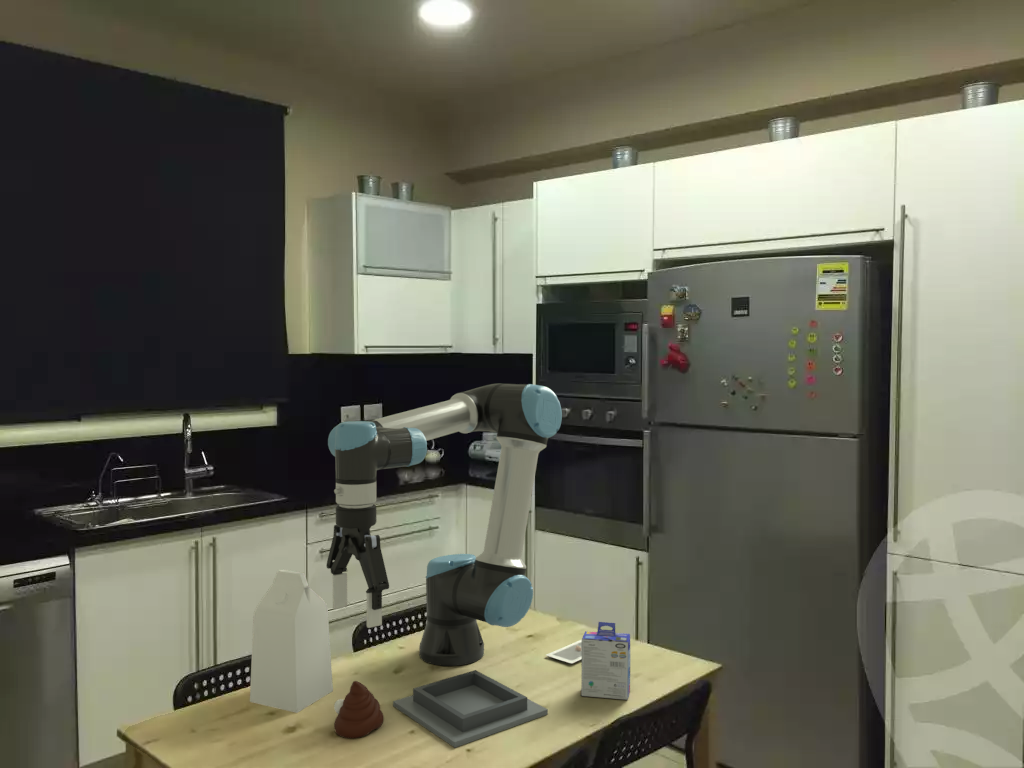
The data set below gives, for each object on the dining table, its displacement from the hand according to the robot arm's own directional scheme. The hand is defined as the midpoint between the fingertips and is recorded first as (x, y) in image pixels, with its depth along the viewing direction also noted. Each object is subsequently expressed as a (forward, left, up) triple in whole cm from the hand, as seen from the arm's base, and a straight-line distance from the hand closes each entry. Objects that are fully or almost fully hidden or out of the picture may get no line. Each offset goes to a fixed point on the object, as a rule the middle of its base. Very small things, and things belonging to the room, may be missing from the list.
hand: (356, 616), depth 156 cm
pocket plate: (+7, +21, -21) cm, 31 cm away
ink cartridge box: (+18, +48, -22) cm, 56 cm away
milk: (-21, -4, -22) cm, 30 cm away
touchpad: (-2, +59, -22) cm, 63 cm away
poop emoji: (0, 0, -22) cm, 22 cm away
